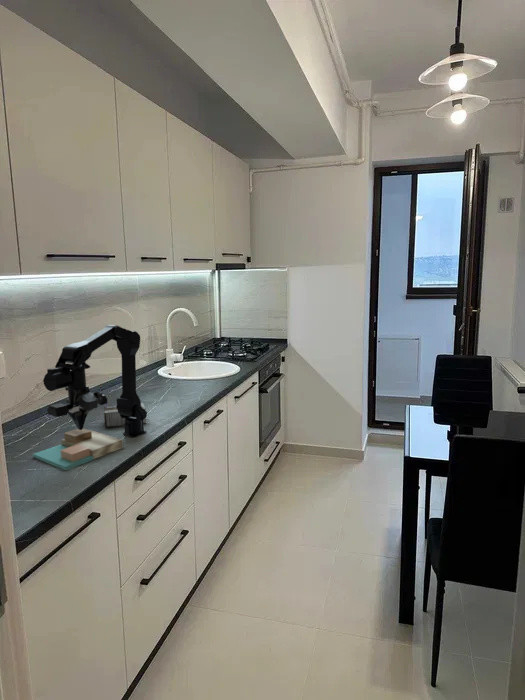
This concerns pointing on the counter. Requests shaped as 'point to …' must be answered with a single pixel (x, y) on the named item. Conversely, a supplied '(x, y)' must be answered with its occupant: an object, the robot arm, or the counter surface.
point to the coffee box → (115, 416)
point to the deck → (98, 444)
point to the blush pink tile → (75, 452)
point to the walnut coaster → (77, 435)
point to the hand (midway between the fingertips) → (80, 429)
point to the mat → (59, 458)
